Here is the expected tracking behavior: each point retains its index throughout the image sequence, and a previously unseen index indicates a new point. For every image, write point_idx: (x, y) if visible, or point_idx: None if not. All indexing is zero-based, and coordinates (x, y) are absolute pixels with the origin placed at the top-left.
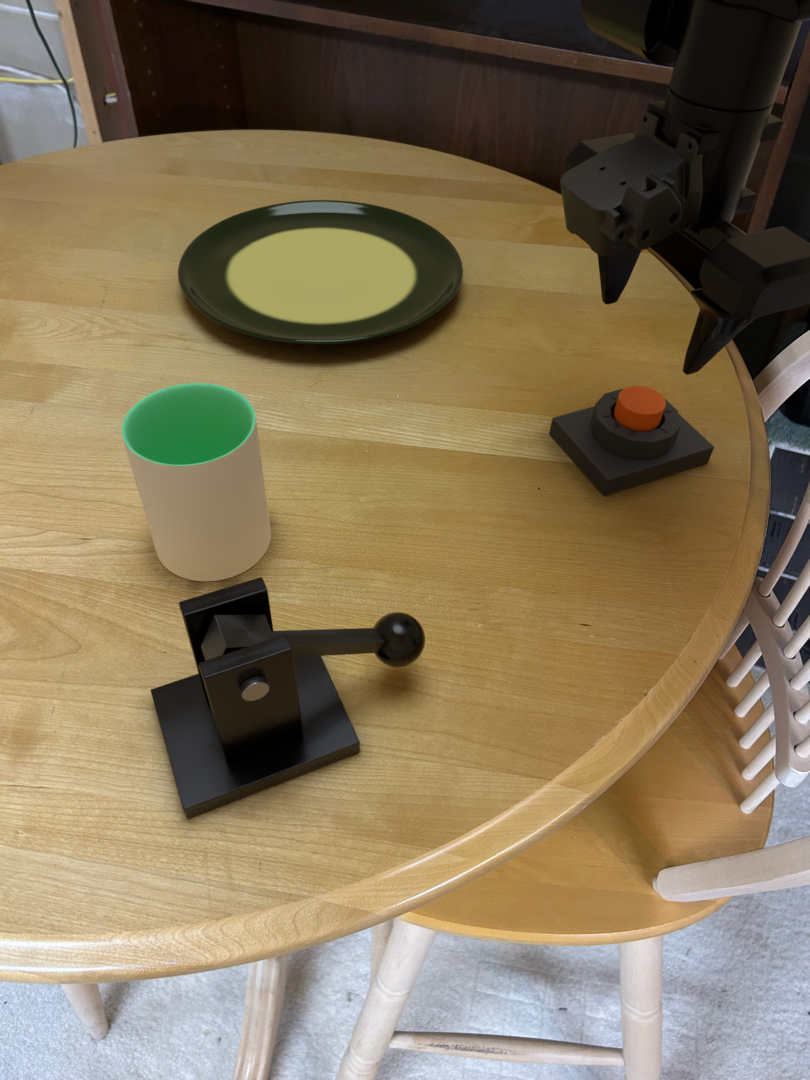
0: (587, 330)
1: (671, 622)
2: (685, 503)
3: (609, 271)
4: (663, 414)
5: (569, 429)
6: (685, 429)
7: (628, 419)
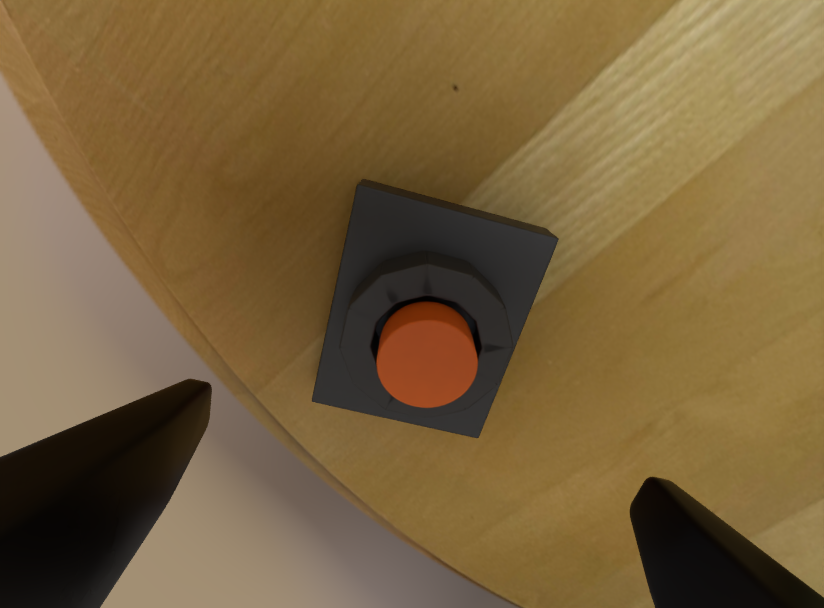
0: None
1: (54, 19)
2: (270, 281)
3: (752, 596)
4: None
5: (510, 238)
6: (371, 400)
7: (416, 310)
